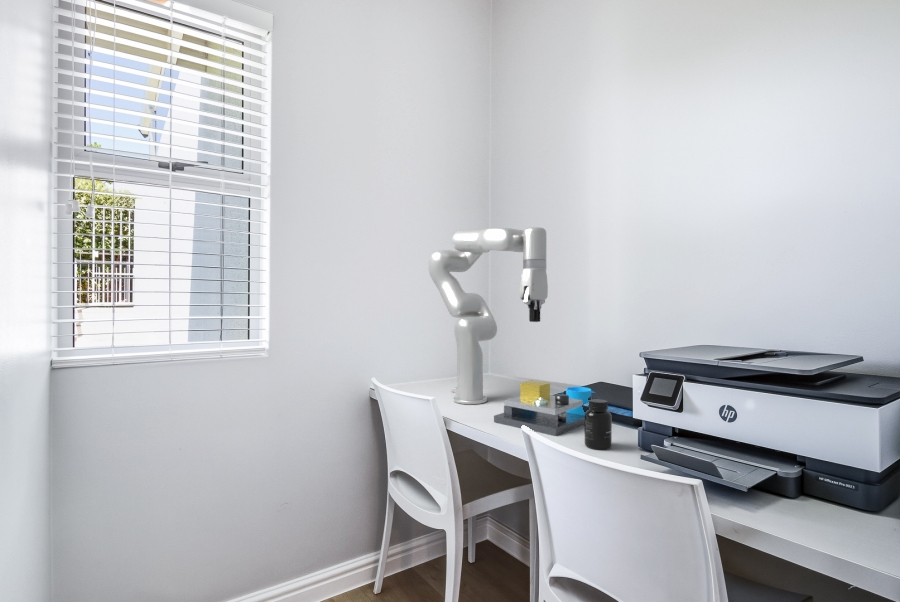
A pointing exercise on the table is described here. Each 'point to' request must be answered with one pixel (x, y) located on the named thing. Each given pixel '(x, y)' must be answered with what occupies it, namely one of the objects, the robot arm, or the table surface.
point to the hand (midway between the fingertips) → (534, 321)
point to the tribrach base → (540, 420)
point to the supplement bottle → (598, 425)
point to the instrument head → (542, 399)
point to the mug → (579, 397)
